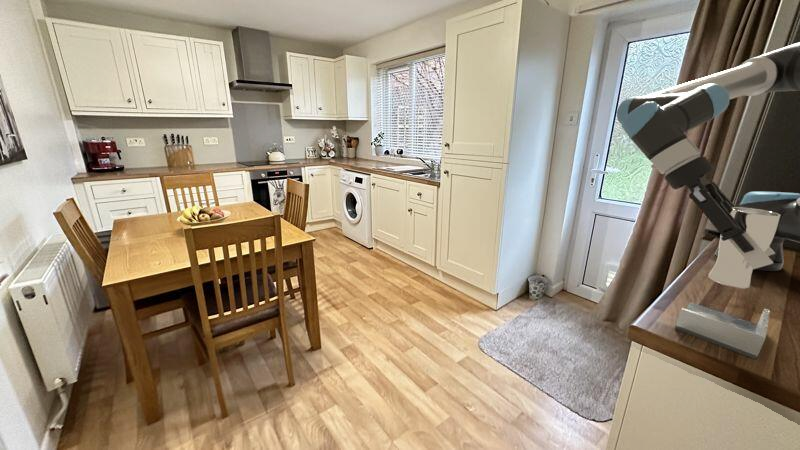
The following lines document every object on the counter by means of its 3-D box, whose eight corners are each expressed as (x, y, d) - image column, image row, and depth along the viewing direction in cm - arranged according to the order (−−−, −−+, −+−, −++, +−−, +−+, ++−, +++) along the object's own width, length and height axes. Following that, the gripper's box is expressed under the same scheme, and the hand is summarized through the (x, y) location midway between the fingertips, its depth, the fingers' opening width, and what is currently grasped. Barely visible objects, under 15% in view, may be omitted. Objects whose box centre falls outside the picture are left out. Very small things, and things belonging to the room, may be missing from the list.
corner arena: (689, 304, 77) (695, 287, 76) (761, 329, 69) (770, 309, 67) (674, 328, 68) (681, 308, 67) (755, 359, 59) (765, 338, 58)
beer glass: (696, 272, 69) (720, 206, 64) (729, 274, 69) (755, 207, 64) (726, 289, 62) (755, 215, 58) (763, 290, 62) (794, 217, 58)
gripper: (673, 172, 77) (745, 256, 70) (650, 180, 65) (734, 282, 58) (710, 152, 71) (792, 241, 64) (692, 156, 59) (790, 266, 52)
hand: (764, 260), depth 61 cm, fingers closed on beer glass, 7 cm apart
